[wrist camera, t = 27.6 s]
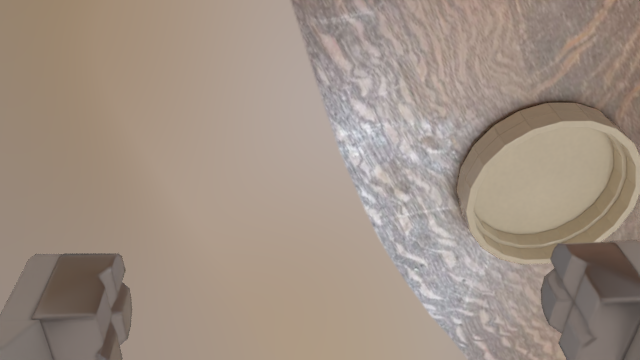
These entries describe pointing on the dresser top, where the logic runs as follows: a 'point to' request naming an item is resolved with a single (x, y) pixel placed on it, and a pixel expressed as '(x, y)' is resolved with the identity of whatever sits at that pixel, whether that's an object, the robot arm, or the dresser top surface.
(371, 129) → the dresser top surface
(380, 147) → the dresser top surface
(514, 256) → the bowl
